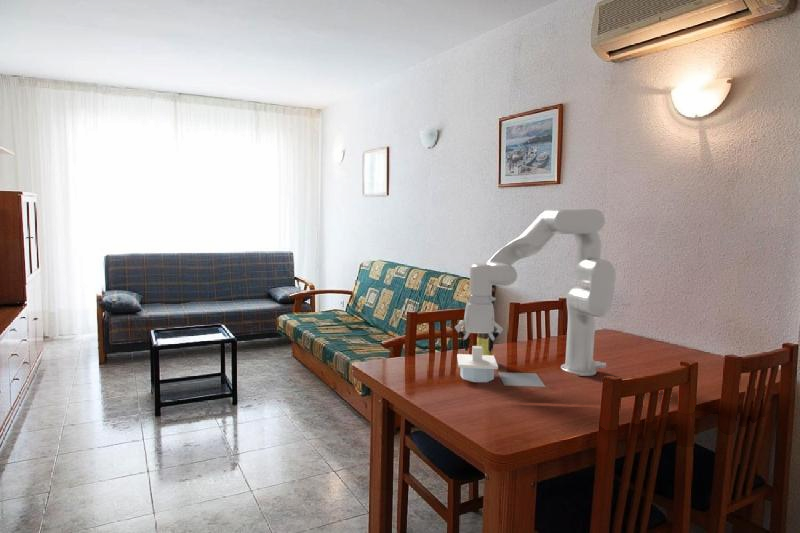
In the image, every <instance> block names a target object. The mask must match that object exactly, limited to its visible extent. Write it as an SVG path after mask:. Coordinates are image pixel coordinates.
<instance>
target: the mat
mask: <svg viewBox="0 0 800 533" xmlns="http://www.w3.org/2000/svg"><path fill="white" fill-rule="evenodd" d="M497 373H498V376H499V378H500V380H501V382H502V383H503V385H504V386H506V387H507V386H511V387H535V388H536V387H537V388H538V387H539V388H546V385H545V384H544V382H543V380H541V378H540V377H539V376H538V374H537V373H536V372H535V373H529V372H528V373H527V372H502V371H501V372H500V371H499V372H497Z"/></svg>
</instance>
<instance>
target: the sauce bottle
mask: <svg viewBox="0 0 800 533" xmlns="http://www.w3.org/2000/svg"><path fill="white" fill-rule="evenodd" d="M494 333H495V332H492V334H494ZM489 337H490V336H489V334H488V333H477V336H476V346H482V355H492V356H494V348H493V349H491V352H490V351H489V350H488V339H489ZM494 342H495V340H494V341H493V346H494Z"/></svg>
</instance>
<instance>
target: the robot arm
mask: <svg viewBox="0 0 800 533" xmlns="http://www.w3.org/2000/svg"><path fill="white" fill-rule="evenodd" d="M605 222H606V219H605V215H604V213H603V212H602V211H601V210H599V209H597V208H586V207H585V208H581V207H580V208H579V207H577V208H576V207H575V208H574V207H573V208H566V209H565V208H548V209H545V210H544V211H542V212H541V213H540V214H539V215H538V216H537V217H536V219H534V221H533V222H531V224H530V225H529V226H528V227H527V228H526V229H525V230H524V231H523V232H522V233H521V234H520V235H519V236H517V238H515V239H513V240H512V241H510V242H508V243H507V244H506V245H504V246H502V247H501V248H500V249H499V250H497V252H495V253H494V254H493V255H492V257H491V258H489V260H488V261H487V263H483V262H482V263H480V262H478V263H473V264H472V265H471V266H470V270H469V271H470V272H469V291H468V292H469V295H468V297H469V298H468V302H466V303H465V304H466V305H465V308H464V317H463V320H462V321H461V322H460V323H458V324H456V325H455V326H454V329H455V330H456V332H457V333H458V334H459V336H460V337H461V338H462V340H463V341H462V342H463V344H462V346H463V347H462V348H463V349H464V350H465V352H467V351H469V338H468V337H469V336H470V334H472V333H473V334H478V333H488V334H489V336H490V337H489V339H488V350H489V351H490V352H491V349H493V350H494V345H493V341H494V342H495V339H497V337H499V335H500V334H501V333H502V332H503V330H504V328H503V327H502V326H501V325H499V323H497V322H496V320H495V312H494V311H495V310H494V304H493V302H494V301H495V302H496V300H497V299H496V298H497V297H496V296H493V295H492V293H493V292H492V290H493V286H503V287H507V286H508V287H509V286H511V285H513V284H514V283H515V282H516V280H517V279H518V271H517V269H516V268H515V267H514V266H513V265H514V264H515V263H517V262H519V261H520V260H523V259H526V258H529V257H532V256H534V255H536V254H538V253H540V251H541V250H542V249H544V247H545V246H546V245H547V244H548V242H550V240H552V239H553V238H554V237H555V235H557V234H558V235H572V236H573V237H574V240H575V254H574V255H575V256H574V265H573V276H574V279H576V280H577V281H578V282H580V283H584V284H589V286H584V285H577V286H574V287H572V288H571V289H570V290H569V291H568V292H567V294H566V308H567V329H566V330H567V331H566V343H565V346H566V348H565V361H564V362H565V363H563V364H561V365H560V369H561V370H562V371H564V372H567V373H570V374H573V375H577V376H578V377H590V376H595V375H596V374H597V370H598V368H600V369H606V368H607V363H606V362H601V361H599V360H598V361H596V360H594V345H595V333H596V332H595V331H596V320H595V318H603V317H606V316H607V315H608V314H609V313H610V311H611V310H612V306H613V304H614V296H615V288H616V276H617V274H616V269H615V267H614V264H613V263H611V261H609V260H606V259H604V258H601V253H602V252H601V249H602V241H601V235H600V234H599V232H600V231H601V230H602V229H603V228H604V226H605V224H606V223H605ZM462 327H463V329H464V331H462V329H461V328H462ZM495 328H496V331H495ZM492 332H493V333H494V334H492Z"/></svg>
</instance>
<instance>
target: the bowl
mask: <svg viewBox="0 0 800 533" xmlns="http://www.w3.org/2000/svg"><path fill="white" fill-rule="evenodd" d="M459 369H460V370H459V371H460V372H459V374H460V375H459V376H460V377H461V378H462V380H465V381H468V382H472V383H489V382H491V381H492V380H494V379H495V369H479V368H459Z"/></svg>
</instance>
